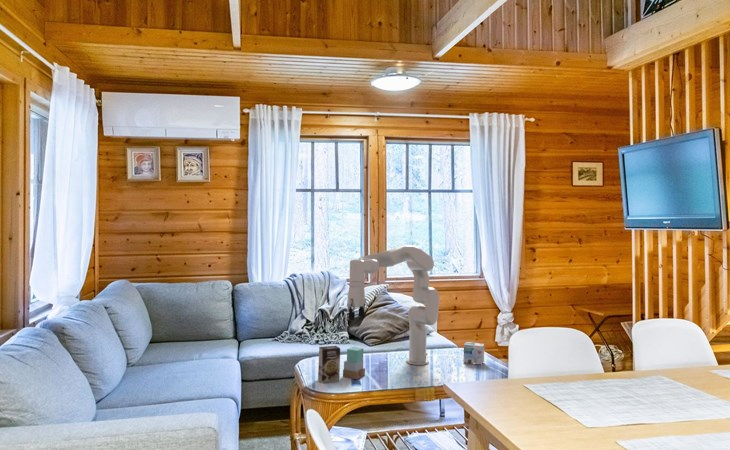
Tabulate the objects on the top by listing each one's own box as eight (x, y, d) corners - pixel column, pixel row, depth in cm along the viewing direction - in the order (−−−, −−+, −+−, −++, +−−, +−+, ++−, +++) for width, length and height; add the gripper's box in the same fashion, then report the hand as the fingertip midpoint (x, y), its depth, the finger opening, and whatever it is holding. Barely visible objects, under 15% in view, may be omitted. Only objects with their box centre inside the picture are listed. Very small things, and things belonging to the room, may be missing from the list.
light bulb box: (463, 363, 274) (463, 344, 274) (465, 360, 280) (465, 341, 280) (482, 365, 270) (482, 346, 270) (484, 362, 276) (484, 343, 276)
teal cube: (352, 358, 249) (353, 346, 249) (363, 360, 246) (363, 348, 246) (346, 361, 244) (347, 349, 244) (357, 362, 241) (357, 350, 241)
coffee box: (321, 383, 232) (322, 349, 232) (317, 379, 238) (318, 346, 238) (339, 381, 235) (340, 348, 236) (335, 377, 241) (336, 345, 242)
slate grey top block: (351, 366, 249) (351, 358, 249) (363, 368, 246) (363, 360, 246) (343, 369, 243) (344, 361, 244) (355, 371, 240) (355, 363, 240)
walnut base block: (351, 373, 250) (351, 365, 250) (364, 376, 246) (364, 368, 246) (342, 377, 243) (343, 369, 243) (356, 380, 239) (356, 372, 239)
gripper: (359, 282, 255) (358, 315, 254) (341, 285, 239) (341, 320, 239) (371, 283, 251) (371, 316, 251) (354, 286, 236) (354, 321, 236)
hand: (356, 318), depth 245 cm, fingers open, 9 cm apart
